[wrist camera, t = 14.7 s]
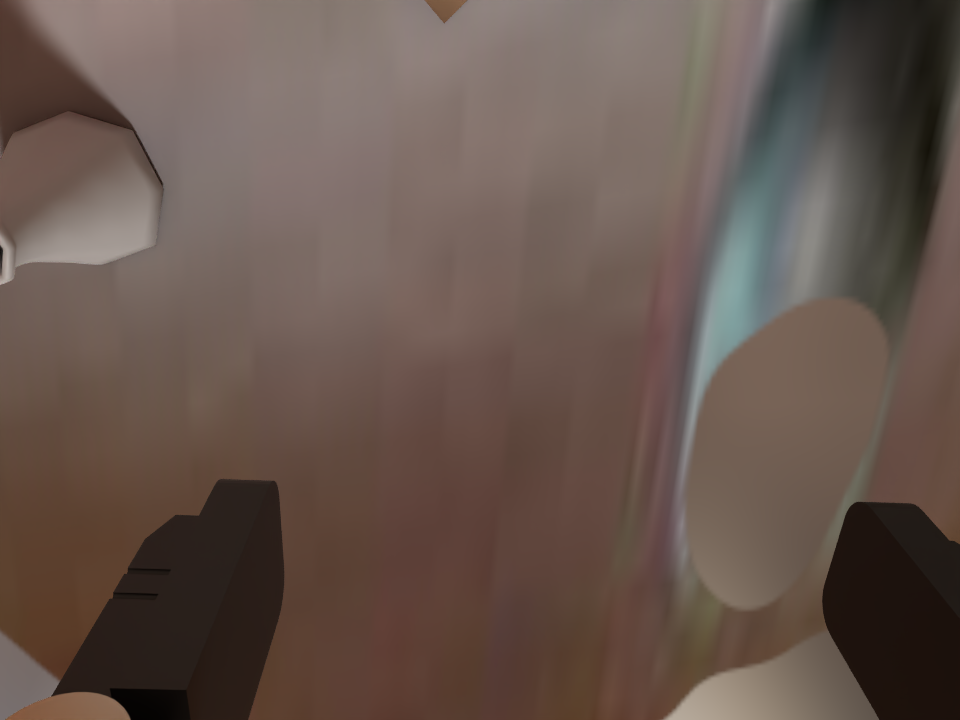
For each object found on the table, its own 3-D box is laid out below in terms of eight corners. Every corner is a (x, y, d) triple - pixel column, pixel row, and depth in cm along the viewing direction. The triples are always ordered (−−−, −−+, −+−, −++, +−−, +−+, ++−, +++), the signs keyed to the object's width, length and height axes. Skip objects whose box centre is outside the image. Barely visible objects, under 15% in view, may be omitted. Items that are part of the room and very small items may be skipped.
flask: (-9, 111, 35) (-175, 149, 26) (150, 108, 35) (41, 144, 26) (32, 264, 38) (-103, 345, 29) (179, 261, 38) (90, 341, 29)
